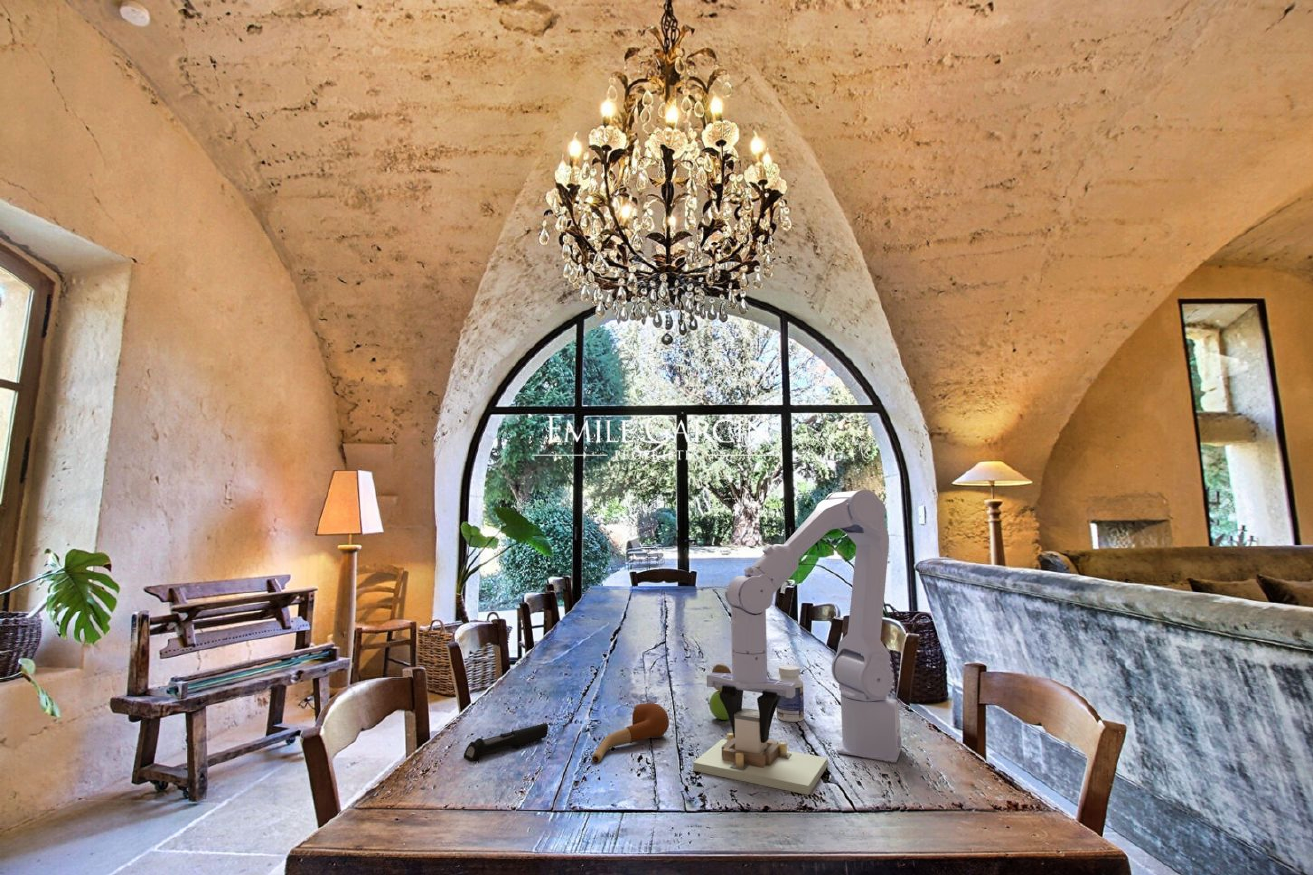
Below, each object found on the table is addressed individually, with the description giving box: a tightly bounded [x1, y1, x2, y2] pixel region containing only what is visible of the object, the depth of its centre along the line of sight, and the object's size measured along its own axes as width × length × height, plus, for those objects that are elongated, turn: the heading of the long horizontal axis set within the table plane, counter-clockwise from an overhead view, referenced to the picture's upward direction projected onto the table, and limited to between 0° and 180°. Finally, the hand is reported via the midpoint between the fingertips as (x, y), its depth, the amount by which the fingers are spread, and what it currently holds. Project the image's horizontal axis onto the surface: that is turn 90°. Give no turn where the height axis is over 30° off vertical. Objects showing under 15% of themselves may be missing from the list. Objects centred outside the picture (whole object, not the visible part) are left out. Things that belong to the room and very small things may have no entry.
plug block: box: [734, 707, 767, 754], centre depth 98 cm, size 4×4×6 cm
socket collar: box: [722, 737, 779, 768], centre depth 97 cm, size 8×8×2 cm
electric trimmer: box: [463, 722, 549, 763], centre depth 103 cm, size 4×15×3 cm, turn 134°
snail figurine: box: [708, 663, 732, 721], centre depth 120 cm, size 5×6×12 cm
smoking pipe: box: [591, 702, 670, 764], centre depth 105 cm, size 7×18×6 cm, turn 151°
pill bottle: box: [775, 664, 805, 723], centre depth 121 cm, size 5×5×10 cm
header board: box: [692, 732, 829, 796], centre depth 95 cm, size 18×12×3 cm, turn 62°
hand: (750, 738), depth 97 cm, fingers closed on plug block, 4 cm apart
